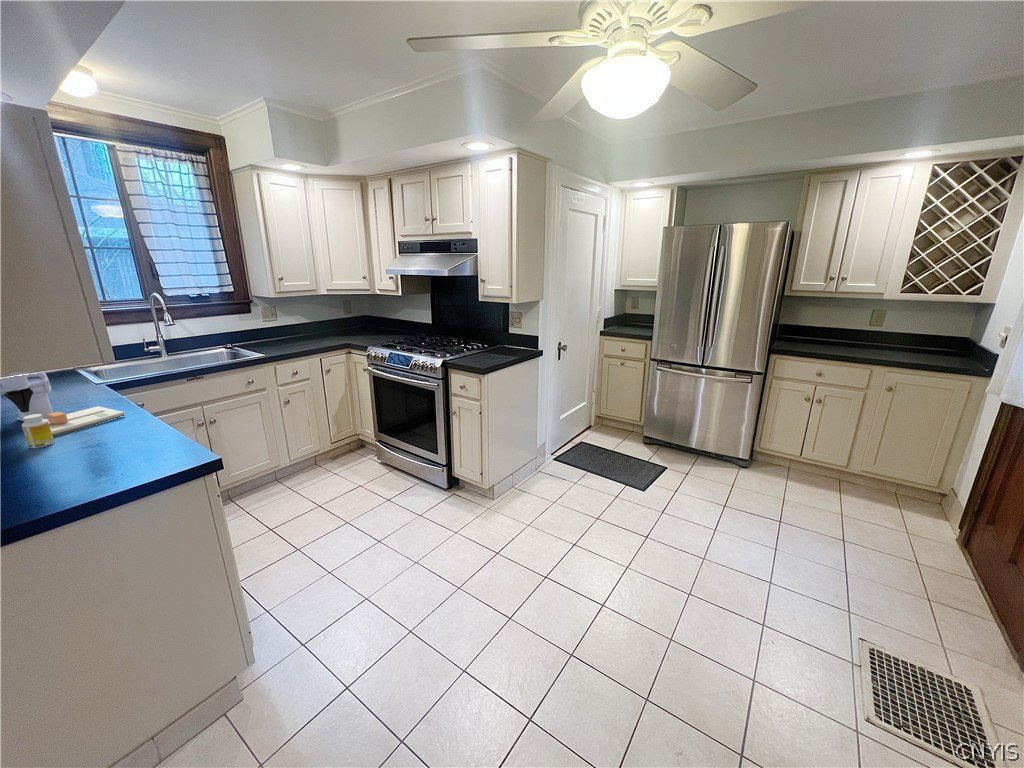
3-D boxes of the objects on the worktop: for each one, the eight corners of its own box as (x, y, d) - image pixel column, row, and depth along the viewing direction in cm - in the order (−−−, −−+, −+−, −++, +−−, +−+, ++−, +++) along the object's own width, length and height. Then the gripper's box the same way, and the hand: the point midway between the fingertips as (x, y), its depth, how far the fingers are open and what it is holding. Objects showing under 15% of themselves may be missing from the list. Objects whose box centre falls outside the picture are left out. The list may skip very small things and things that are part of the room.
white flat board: (28, 429, 143) (26, 423, 142) (99, 410, 161) (98, 405, 160) (54, 436, 138) (52, 431, 137) (125, 416, 156) (123, 411, 155)
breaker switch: (49, 424, 144) (46, 414, 142) (60, 421, 146) (57, 411, 145) (57, 427, 142) (54, 416, 141) (69, 424, 145) (65, 413, 144)
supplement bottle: (60, 441, 134) (50, 412, 131) (43, 449, 129) (33, 419, 126) (41, 441, 134) (31, 413, 131) (23, 449, 129) (13, 419, 126)
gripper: (-16, 380, 124) (-1, 421, 128) (48, 369, 137) (60, 406, 141) (-28, 377, 126) (-13, 417, 130) (37, 366, 139) (49, 403, 143)
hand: (24, 411), depth 136 cm, fingers closed
